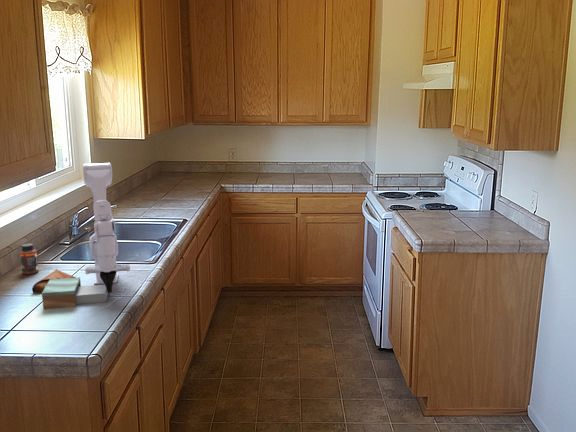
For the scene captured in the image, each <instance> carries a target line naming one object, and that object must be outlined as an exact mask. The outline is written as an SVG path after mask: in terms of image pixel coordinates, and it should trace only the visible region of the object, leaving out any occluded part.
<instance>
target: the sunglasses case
mask: <svg viewBox="0 0 576 432" xmlns="http://www.w3.org/2000/svg"><path fill="white" fill-rule="evenodd" d="M63 278H76V276H73V275H71V274H69V273H66V272H64V271H61V270H58V268H56V269H55V270H54V271H52V272H51V273H48V274H47V275H46V276H45V277H43V278H41V279H40V280H39V281H37V282H35V284H33V285H32V289H31V291H32V293H33V294H42V292H43V290H44V289H45V287H46V285H47V283H48V282H49V280H50V279H63Z"/></svg>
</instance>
